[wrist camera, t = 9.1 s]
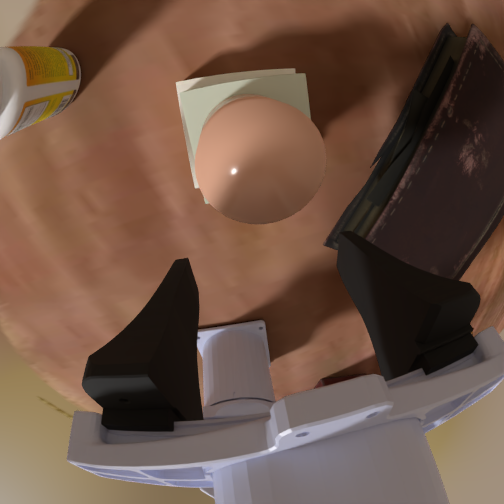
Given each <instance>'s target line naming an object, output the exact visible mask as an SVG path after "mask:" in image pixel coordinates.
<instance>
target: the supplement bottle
mask: <svg viewBox="0 0 504 504" xmlns="http://www.w3.org/2000/svg"><path fill="white" fill-rule="evenodd" d="M80 80H81V69H80V65H79V62H78V59H77V58H76V56H75V55H74V54H73V53H72V52H71V51H69V50H67V49H64V48H58V47H35V46H29V47H28V46H24V47H23V46H21V47H0V139H3V138H5V137H7V136H9V135H11V134H13V133H15V132H17V131H19V130H21V129H23V128H26V127H28V126H30V125H33V124H35V123H37V122H40V121H42V120H45V119H47V118H50V117H53V116H55V115H57V114H59V113H60V112H62V111H63V110H65V109H66V108H67V107H68V106H69V105H70V103H71V102H72V101H73V99H74V97H75V96H76V94H77V91H78V89H79V85H80Z"/></svg>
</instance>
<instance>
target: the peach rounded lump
mask: <svg viewBox="0 0 504 504" xmlns="http://www.w3.org/2000/svg"><path fill="white" fill-rule="evenodd" d="M325 169H326V150H325V145H324V142H323V139H322V136H321V134H320V132H319V130H318V129H317V127H316V126H315V124H314V123H313V122H312V121H311V120H310V118H308V117H307V116H306V115H305V114H304V113H303V112H301V111H300V110H298V109H297V108H295V107H293V106H291V105H289V104H286V103H283V102H280V101H277V100H274V99H271V98H268V97H265V96H261V95H257V94H239V95H235V96H232V97H229V98H227V99H225V100H223V101H222V102H220V103H219V104H218V105H216V106H215V107H214V108H213V109H212V110H211V112H210V113H209V114H208V116H207V117H206V119H205V121H204V124H203V126H202V130H201V134H200V138H199V142H198V146H197V150H196V154H195V174H196V179H197V182H198V185H199V188H200V190H201V192H202V194H203V195H204V197H205V198H206V200H207V201H208V202H209V203H210V204H211V205H212V206H213V207H214V208H215V209H216V210H217V211H219V212H220V213H222V214H223V215H225V216H226V217H229V218H231V219H233V220H236V221H239V222H243V223H248V224H267V223H273V222H277V221H280V220H283V219H285V218H288V217H290V216H292V215H293V214H295V213H297V212H298V211H300V210H301V209H302V208H303V207H304V206H306V205H307V204H308V203H309V201H310V200H311V199H312V198H313V197H314V195H315V194H316V193H317V191H318V189H319V187H320V185H321V183H322V180H323V178H324V174H325Z"/></svg>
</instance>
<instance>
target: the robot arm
mask: <svg viewBox="0 0 504 504" xmlns="http://www.w3.org/2000/svg"><path fill="white" fill-rule="evenodd" d="M337 268H338V271H339V273H340V276H341V278H342V281H343V283H344V285H345V287H346V289H347V291H348V292H349V294H350V296H351V298H352V300H353V301H354V303H355V305H356V307H357V309H358V311H359V312H360V314H361V316H362V318H363V320H364V323H365V325H366V328H367V330H368V333H369V335H370V338H371V341H372V344H373V347H374V350H375V353H376V356H377V360H378V363H379V367H380V371H381V375H382V376H380V375H377V374H369V375H364V376H360V377H356V378H353V379H350V380H346V381H342V382H339V383H335V384H331V385H327V386H323V387H319V388H315V389H311V390H306V391H302V392H298V393H295V394H291V395H288V396H285V397H283V398H282V399H280V400H278V401H277V402H276V401H275V396H274V391H273V386H272V381H271V375H270V370H269V367H270V366H271V363H270V356H269V349H268V341H267V334H266V326H265V322H264V321H263V320H258V321H252V322H246V323H240V324H234V325H227V326H221V327H214V328H207V329H199V330H198V323H199V292H198V288H197V284H196V281H195V278H194V275H193V272H192V269H191V265H190V262H189V259H188V258H184V259H178V260H175V262H174V263H173V265H172V266H171V268H170V270H169V271H168V273H167V275H166V276H165V278H164V280H163V281H162V283H161V284H160V286H159V287H158V289H157V290H156V292H155V293H154V295H153V296H152V298H151V299H150V300H149V302H148V303H147V304H146V306H145V307H144V308H143V309H142V311H141V312H140V313H139V314H138V315H137V316H136V317H135V319H134V320H133V321H132V322H131V323H130V324H129V325H128V326H127V327H126V328H125V329H124V330H123V331H121V332H120V333H119V334H118V335H117V336H116V337H115V338H113V339H112V340H111V341H110V342H108V343H107V344H106V345H105V346H103V347H102V348H100V349H99V350H97V351H96V352H95V353H93V354H92V355H90V356H89V357H88V361H87V364H86V368H85V372H84V376H83V380H82V386H83V389H84V390H85V392H86V393H87V394H88V395H89V396H90V397H91V398H92V399H93V400H95V401H96V402H97V403H98V404H99V405H100V406H101V407H103V414H102V415H101V414H99V413H96V412H86V411H75V412H74V416H73V422H72V428H71V434H70V440H69V447H68V455H67V461H68V462H69V463H71V464H73V465H76V466H78V467H80V468H82V469H84V470H86V471H88V472H91V473H93V474H95V475H98V476H100V477H105V478H111V479H118V480H124V481H131V482H138V483H146V484H154V485H164V486H178V487H198V488H200V490H201V491H203V492H204V493H206V494H207V495H209V496H211V497H213V498H214V499H215V504H449V501H448V497H447V495H446V491H445V488H444V485H443V482H442V480H441V477H440V474H439V471H438V468H437V465H436V463H435V460H434V457H433V454H432V452H431V449H430V446H429V444H428V442H427V439H426V436H425V433H426V432H428V431H430V430H432V429H434V428H435V427H437V426H439V425H440V424H442V423H444V422H446V421H447V420H449V419H451V418H452V417H454V416H455V415H457V414H459V413H460V412H461V411H463V410H465V409H466V408H468V407H469V406H471V405H472V404H474V403H475V402H477V401H478V400H480V399H481V398H483V397H484V396H486V395H487V394H489V393H490V392H491V391H492V390H493V389H494V388H495V387H496V386H497V385H498V384H499V383H500V382H501V381H502V380H503V379H504V341H503V340H502V339H501V337H500V335H499V334H498V333H497V331H496V330H495V328H494V327H493V326H491V327H489V328H487V329H485V330H483V331H482V332H480V333H478V334H477V335H476V336H475V337H473V335H472V334H471V332H472V331H473V328H472V326H471V325H470V322H471V320H472V319H473V317H474V315H475V313H476V311H477V309H478V307H479V304H480V295H479V294H478V292H477V291H476V290H475V289H474V288H473V286H472V285H471V284H470V283H467V282H462V281H457V280H452V279H449V278H445V277H441V276H438V275H435V274H432V273H429V272H427V271H424V270H421V269H419V268H416V267H414V266H412V265H410V264H408V263H405V262H403V261H401V260H399V259H398V258H396V257H394V256H392V255H390V254H389V253H387V252H385V251H383V250H382V249H380V248H378V247H377V246H375V245H374V244H372V243H370V242H369V241H367V240H366V239H364V238H363V237H361V236H359V235H358V234H356V233H354V232H352V231H344V232H339V241H338V256H337ZM197 347H198V349H199V352H200V354H201V356H202V358H203V385H204V407H203V412H202V405H201V397H200V389H199V378H198V365H197Z"/></svg>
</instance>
